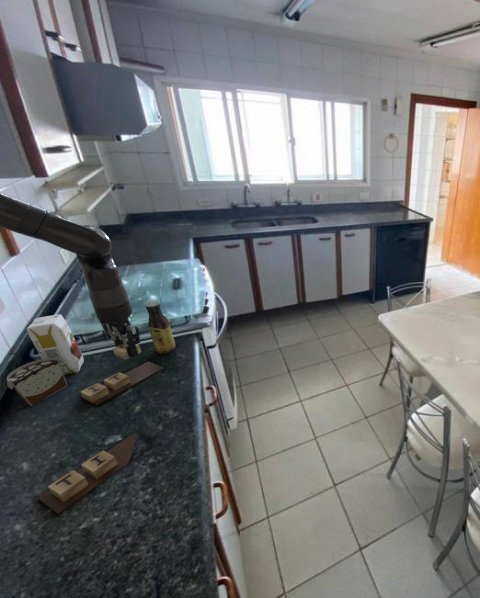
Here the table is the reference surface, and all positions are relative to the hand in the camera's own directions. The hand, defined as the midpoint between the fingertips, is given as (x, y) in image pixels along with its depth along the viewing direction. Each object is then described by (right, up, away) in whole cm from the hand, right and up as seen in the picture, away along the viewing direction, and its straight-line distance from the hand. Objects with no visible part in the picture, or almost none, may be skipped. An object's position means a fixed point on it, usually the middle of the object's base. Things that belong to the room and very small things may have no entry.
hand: (128, 353), depth 96 cm
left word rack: (+8, -25, -17) cm, 32 cm away
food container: (-29, -13, +3) cm, 32 cm away
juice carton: (-31, -8, +14) cm, 35 cm away
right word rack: (-10, -11, +11) cm, 18 cm away
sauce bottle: (-8, -4, +28) cm, 29 cm away
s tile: (0, 0, 0) cm, 0 cm away
